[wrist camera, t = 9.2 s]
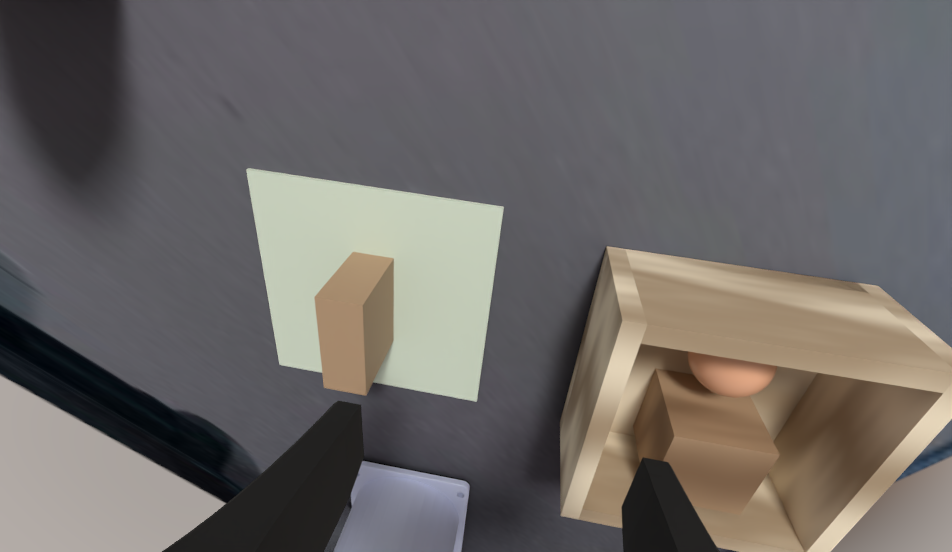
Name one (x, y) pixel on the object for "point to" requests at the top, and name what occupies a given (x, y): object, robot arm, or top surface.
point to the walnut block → (705, 440)
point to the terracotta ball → (730, 374)
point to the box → (779, 404)
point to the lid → (376, 282)
